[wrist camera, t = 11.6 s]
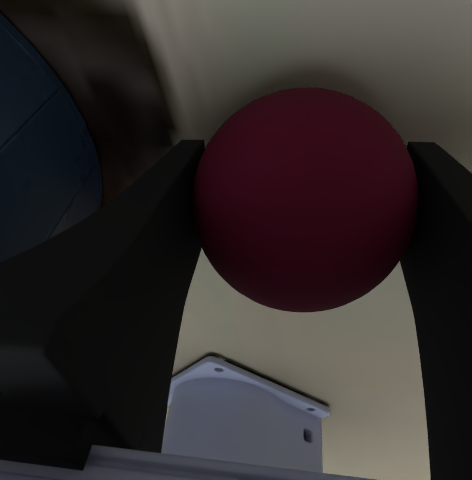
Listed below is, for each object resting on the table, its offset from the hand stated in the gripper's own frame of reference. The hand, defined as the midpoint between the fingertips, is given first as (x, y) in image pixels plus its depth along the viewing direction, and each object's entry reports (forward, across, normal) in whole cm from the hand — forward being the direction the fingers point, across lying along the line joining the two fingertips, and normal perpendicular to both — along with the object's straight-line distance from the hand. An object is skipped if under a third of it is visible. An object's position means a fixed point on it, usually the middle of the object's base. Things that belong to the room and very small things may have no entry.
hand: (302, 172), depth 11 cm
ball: (+1, 0, 0) cm, 1 cm away
